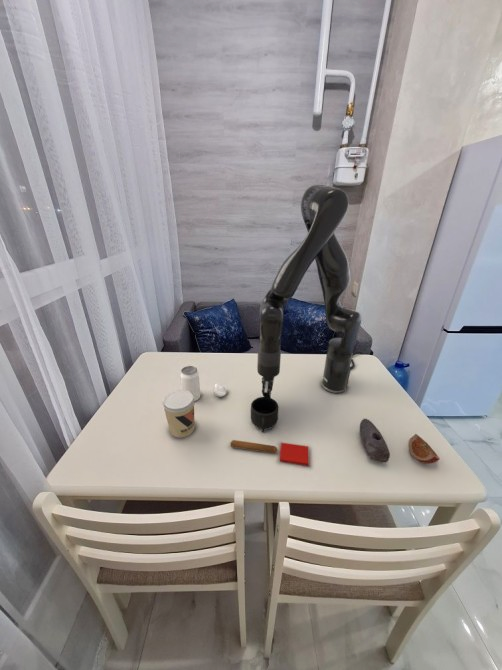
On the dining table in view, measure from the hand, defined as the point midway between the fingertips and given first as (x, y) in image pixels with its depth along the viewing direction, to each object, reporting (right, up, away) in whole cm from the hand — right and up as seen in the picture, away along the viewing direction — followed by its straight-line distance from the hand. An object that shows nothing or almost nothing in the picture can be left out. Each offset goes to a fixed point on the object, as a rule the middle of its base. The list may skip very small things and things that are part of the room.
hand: (267, 401), depth 94 cm
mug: (-2, -6, -7) cm, 9 cm away
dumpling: (-18, +1, +7) cm, 19 cm away
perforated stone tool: (+30, -10, -14) cm, 35 cm away
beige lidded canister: (-28, -7, -9) cm, 30 cm away
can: (-28, 0, +6) cm, 29 cm away
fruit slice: (+44, -12, -17) cm, 49 cm away
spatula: (-1, -11, -16) cm, 19 cm away
